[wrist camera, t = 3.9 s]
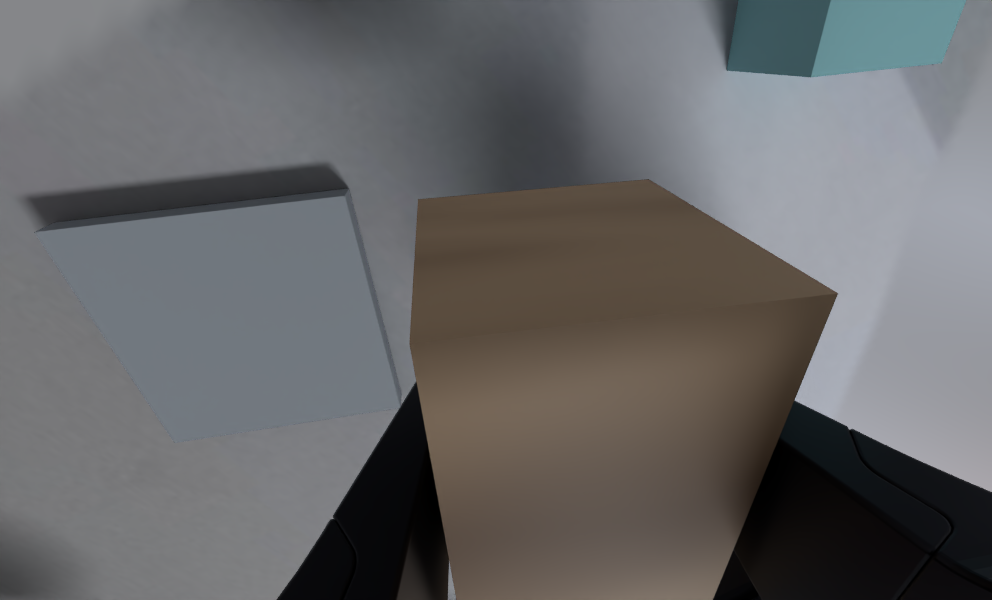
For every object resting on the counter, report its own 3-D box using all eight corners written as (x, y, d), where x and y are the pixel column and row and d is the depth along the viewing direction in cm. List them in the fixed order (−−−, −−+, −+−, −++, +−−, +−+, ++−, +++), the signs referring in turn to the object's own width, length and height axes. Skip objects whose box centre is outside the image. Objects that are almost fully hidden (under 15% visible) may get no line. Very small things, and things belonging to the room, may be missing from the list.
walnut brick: (614, 439, 12) (701, 625, 8) (455, 462, 12) (469, 669, 8) (648, 179, 8) (837, 293, 5) (418, 199, 8) (409, 344, 4)
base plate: (401, 394, 23) (400, 407, 22) (184, 427, 22) (174, 442, 21) (348, 188, 17) (344, 195, 16) (54, 222, 16) (34, 232, 16)
